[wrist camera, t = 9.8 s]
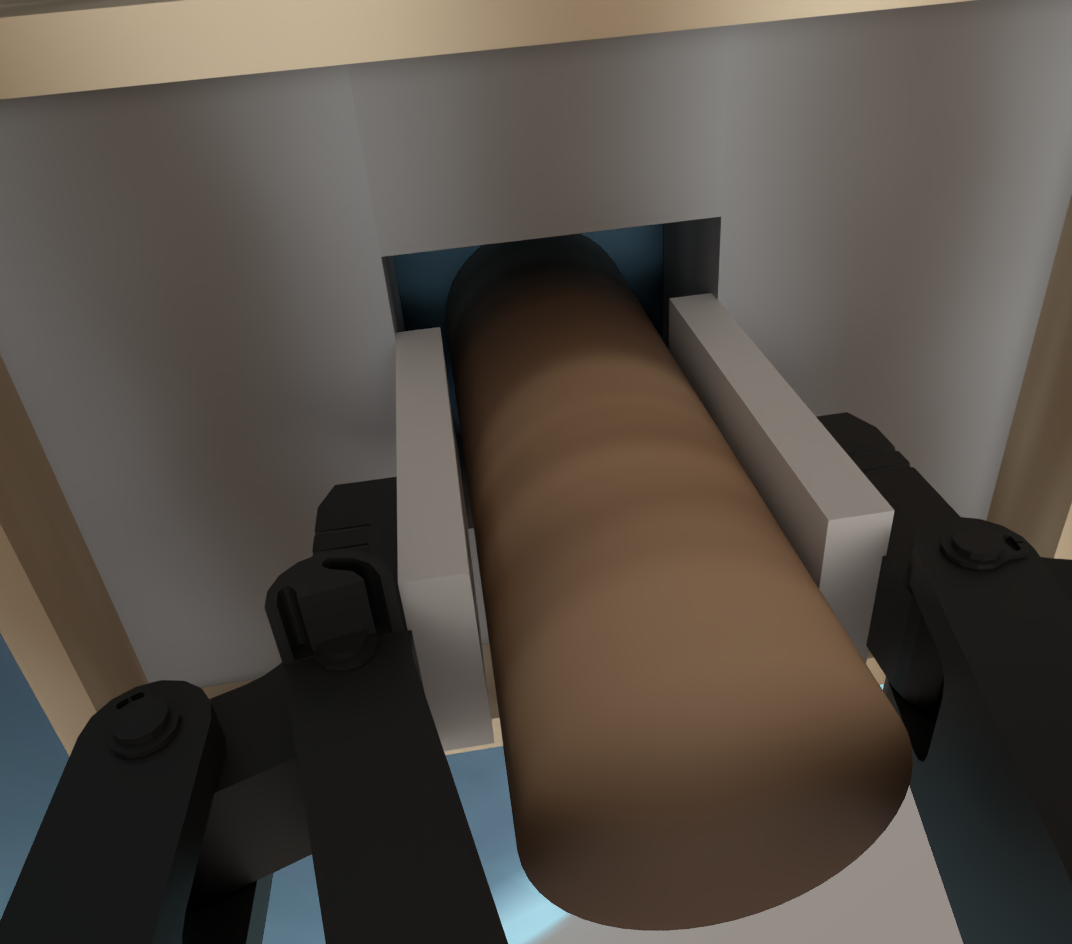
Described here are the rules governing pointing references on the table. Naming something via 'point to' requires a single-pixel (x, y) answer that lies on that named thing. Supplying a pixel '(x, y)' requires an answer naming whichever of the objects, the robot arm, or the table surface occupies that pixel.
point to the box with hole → (469, 220)
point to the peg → (648, 618)
